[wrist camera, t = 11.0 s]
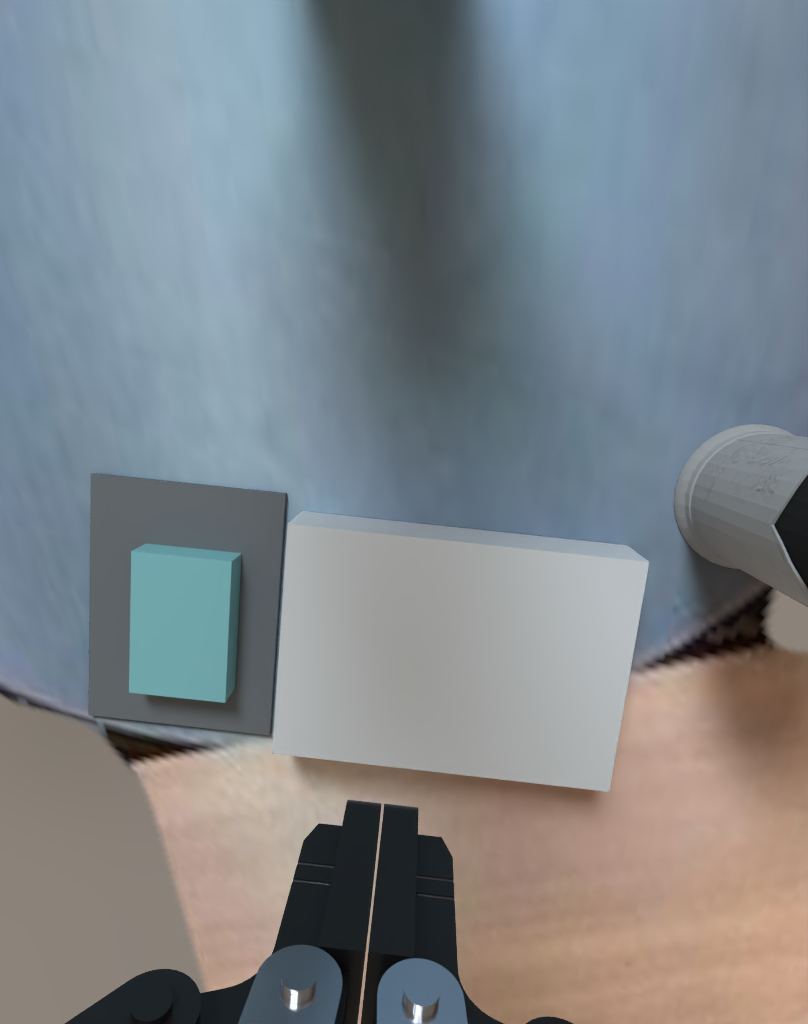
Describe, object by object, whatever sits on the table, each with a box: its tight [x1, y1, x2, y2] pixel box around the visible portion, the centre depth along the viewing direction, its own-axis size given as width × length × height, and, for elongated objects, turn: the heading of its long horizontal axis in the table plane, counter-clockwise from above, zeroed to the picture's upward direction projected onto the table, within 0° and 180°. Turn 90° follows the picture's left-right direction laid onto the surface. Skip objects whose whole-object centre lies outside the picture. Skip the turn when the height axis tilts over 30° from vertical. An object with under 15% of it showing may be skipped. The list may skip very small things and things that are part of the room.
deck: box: [272, 511, 649, 792], centre depth 38 cm, size 14×20×4 cm
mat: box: [89, 473, 287, 735], centre depth 41 cm, size 16×12×1 cm
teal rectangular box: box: [129, 544, 242, 703], centre depth 39 cm, size 9×6×2 cm, turn 175°
